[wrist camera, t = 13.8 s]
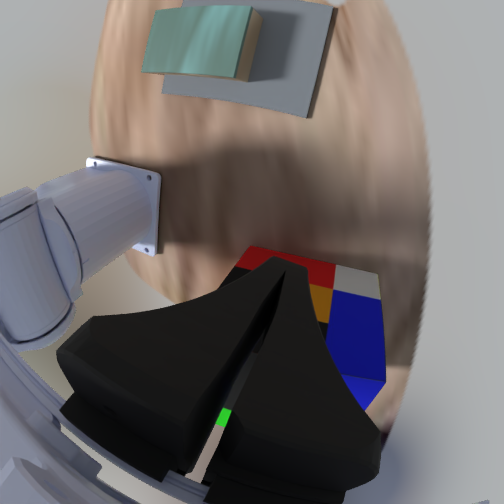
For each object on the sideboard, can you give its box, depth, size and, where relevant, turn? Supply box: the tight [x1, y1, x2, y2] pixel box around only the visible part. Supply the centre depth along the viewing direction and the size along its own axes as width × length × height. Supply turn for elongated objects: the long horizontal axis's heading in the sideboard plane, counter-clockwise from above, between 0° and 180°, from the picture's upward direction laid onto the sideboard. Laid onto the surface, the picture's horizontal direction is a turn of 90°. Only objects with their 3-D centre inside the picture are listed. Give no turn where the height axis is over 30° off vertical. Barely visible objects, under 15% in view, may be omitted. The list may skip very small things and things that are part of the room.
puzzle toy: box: [215, 246, 386, 427], centre depth 18 cm, size 10×10×10 cm
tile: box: [141, 5, 263, 83], centre depth 14 cm, size 2×5×7 cm
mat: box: [162, 0, 333, 118], centre depth 14 cm, size 11×8×1 cm
